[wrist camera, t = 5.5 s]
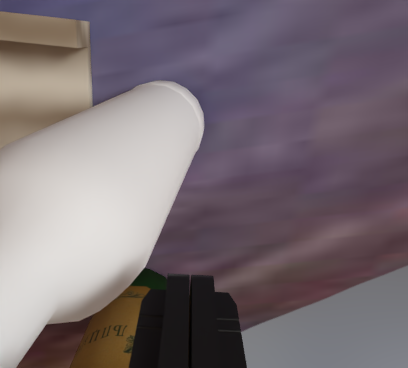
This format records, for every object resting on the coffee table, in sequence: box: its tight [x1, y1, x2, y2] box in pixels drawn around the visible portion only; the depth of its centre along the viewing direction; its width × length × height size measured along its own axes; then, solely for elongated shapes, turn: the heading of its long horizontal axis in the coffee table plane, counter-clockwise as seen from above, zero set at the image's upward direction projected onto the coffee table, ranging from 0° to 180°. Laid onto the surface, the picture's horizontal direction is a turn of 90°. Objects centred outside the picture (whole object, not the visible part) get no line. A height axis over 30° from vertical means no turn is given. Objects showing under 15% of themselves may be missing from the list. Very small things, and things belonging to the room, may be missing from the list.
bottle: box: [0, 80, 204, 368], centre depth 18 cm, size 8×8×30 cm
